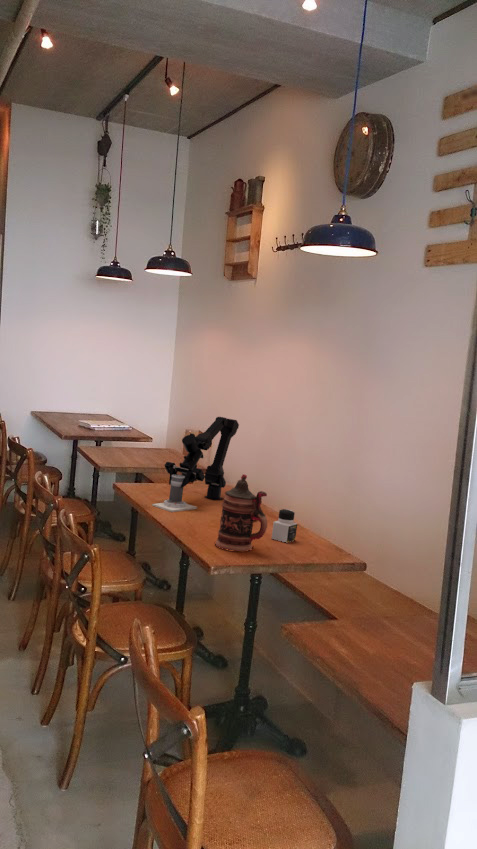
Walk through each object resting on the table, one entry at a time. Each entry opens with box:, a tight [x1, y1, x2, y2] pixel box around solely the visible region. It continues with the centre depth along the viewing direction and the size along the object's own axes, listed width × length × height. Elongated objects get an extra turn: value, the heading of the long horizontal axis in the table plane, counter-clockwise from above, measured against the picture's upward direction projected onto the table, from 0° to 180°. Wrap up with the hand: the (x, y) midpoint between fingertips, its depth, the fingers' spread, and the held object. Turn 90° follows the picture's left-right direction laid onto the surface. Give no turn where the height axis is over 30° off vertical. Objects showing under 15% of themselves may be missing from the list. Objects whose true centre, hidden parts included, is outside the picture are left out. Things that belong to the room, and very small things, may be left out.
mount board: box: [151, 498, 198, 513], centre depth 325 cm, size 16×12×3 cm
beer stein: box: [215, 474, 268, 552], centre depth 271 cm, size 17×28×18 cm
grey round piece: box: [168, 473, 185, 502], centre depth 324 cm, size 6×6×11 cm
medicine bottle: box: [271, 508, 298, 544], centre depth 292 cm, size 7×7×12 cm
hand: (175, 485), depth 323 cm, fingers closed on grey round piece, 6 cm apart
